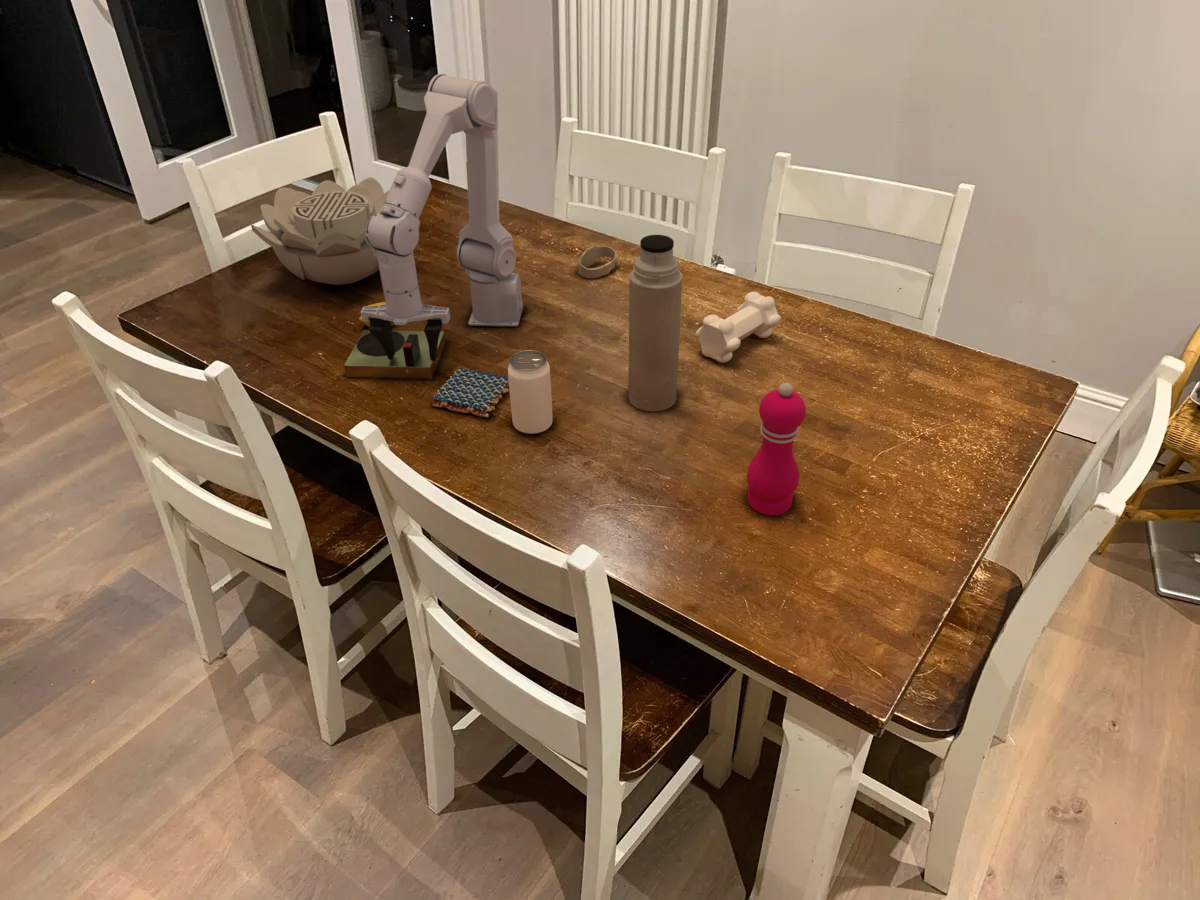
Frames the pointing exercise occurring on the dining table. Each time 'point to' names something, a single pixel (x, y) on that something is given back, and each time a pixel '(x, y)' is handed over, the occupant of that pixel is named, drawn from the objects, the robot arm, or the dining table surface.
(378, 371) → the hob
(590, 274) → the grey oval ring
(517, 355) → the can
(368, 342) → the burner
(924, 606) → the dining table surface
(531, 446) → the dining table surface
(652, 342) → the thermos bottle
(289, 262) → the decorative bowl
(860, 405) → the dining table surface
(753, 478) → the pepper mill
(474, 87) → the robot arm
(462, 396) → the woven mat
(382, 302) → the lemon
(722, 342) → the bone shaped toy
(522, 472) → the dining table surface
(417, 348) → the black block
